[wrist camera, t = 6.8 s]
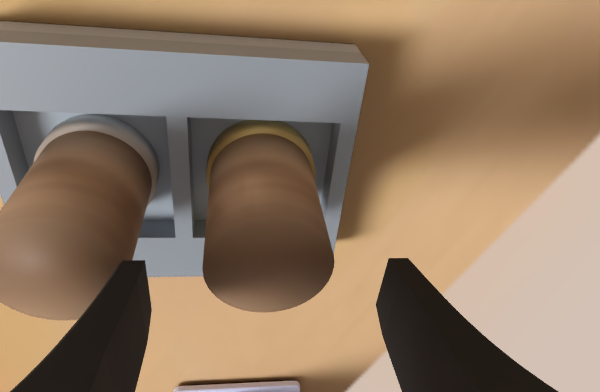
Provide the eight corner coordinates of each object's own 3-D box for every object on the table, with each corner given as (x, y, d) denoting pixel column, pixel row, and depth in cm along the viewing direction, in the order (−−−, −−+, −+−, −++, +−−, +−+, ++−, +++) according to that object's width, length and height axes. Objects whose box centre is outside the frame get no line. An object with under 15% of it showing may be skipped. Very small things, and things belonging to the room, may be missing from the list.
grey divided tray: (322, 243, 23) (329, 274, 21) (46, 244, 21) (29, 278, 19) (355, 44, 17) (368, 63, 15) (-19, 19, 15) (-54, 38, 13)
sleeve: (306, 207, 20) (328, 313, 15) (208, 206, 19) (199, 317, 15) (317, 119, 18) (349, 212, 13) (206, 115, 17) (194, 211, 12)
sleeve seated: (163, 209, 19) (139, 321, 14) (55, 207, 19) (-8, 325, 14) (154, 116, 17) (121, 215, 12) (30, 111, 16) (-58, 213, 11)
